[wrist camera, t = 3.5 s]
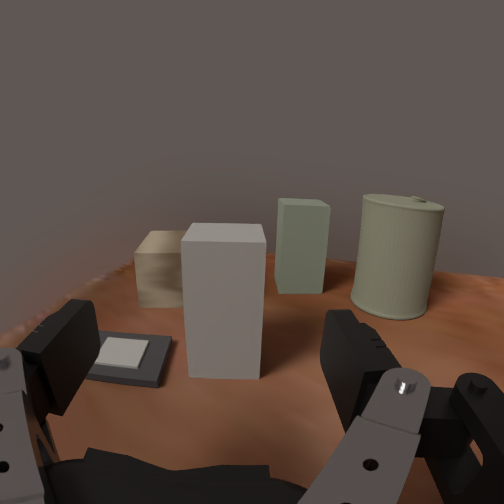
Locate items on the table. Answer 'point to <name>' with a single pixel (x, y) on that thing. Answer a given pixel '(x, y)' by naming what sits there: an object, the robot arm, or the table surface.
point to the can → (396, 255)
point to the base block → (160, 270)
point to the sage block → (301, 245)
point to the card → (131, 359)
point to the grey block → (223, 299)
